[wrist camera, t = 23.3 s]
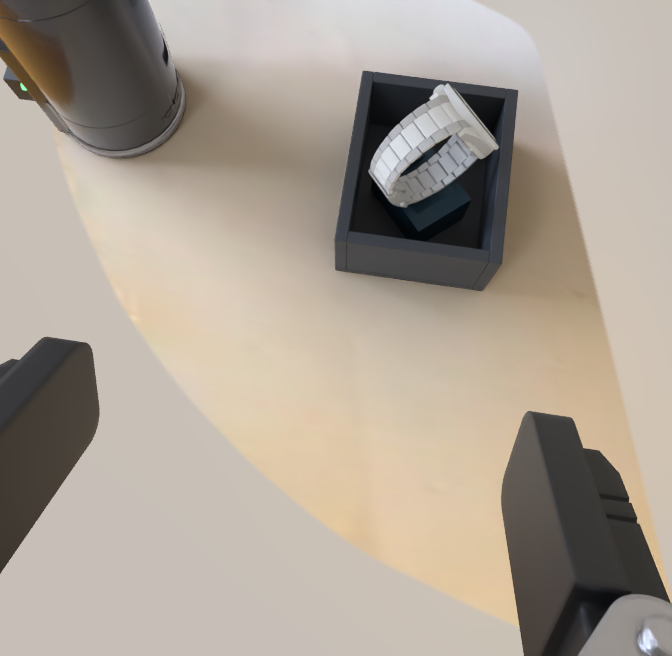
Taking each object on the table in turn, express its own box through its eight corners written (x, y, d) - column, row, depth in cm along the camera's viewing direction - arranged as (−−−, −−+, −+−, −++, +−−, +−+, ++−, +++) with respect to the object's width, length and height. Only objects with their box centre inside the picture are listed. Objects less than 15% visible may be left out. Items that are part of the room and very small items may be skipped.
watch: (484, 205, 45) (528, 118, 34) (393, 261, 44) (408, 189, 33) (440, 147, 46) (469, 45, 36) (350, 200, 45) (352, 112, 35)
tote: (335, 270, 45) (334, 240, 39) (360, 117, 48) (362, 70, 42) (482, 291, 44) (501, 263, 39) (498, 135, 47) (518, 89, 42)
